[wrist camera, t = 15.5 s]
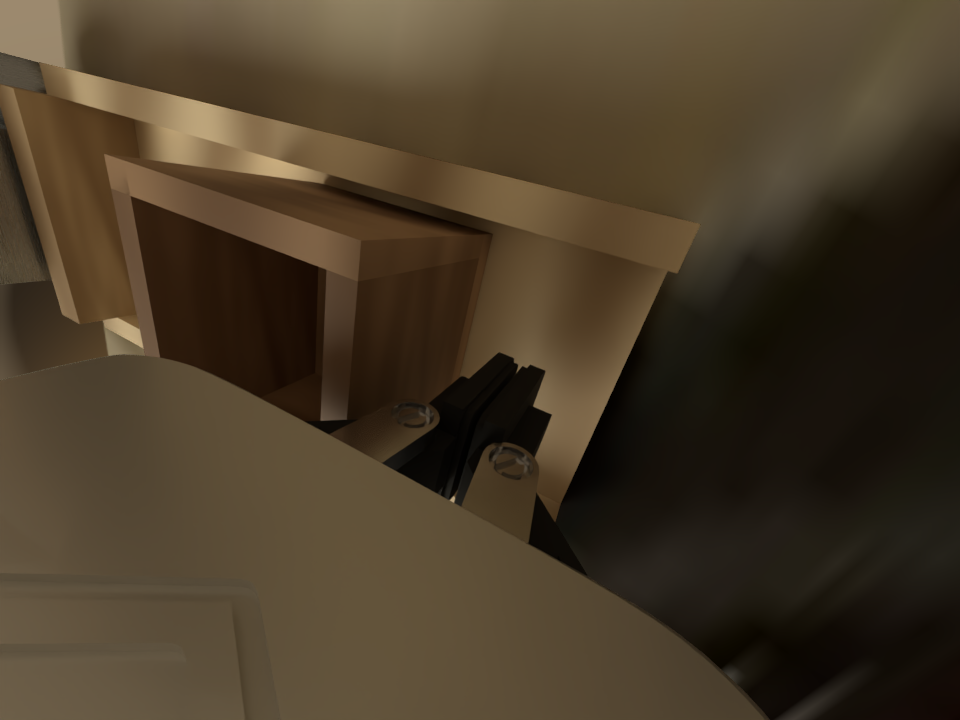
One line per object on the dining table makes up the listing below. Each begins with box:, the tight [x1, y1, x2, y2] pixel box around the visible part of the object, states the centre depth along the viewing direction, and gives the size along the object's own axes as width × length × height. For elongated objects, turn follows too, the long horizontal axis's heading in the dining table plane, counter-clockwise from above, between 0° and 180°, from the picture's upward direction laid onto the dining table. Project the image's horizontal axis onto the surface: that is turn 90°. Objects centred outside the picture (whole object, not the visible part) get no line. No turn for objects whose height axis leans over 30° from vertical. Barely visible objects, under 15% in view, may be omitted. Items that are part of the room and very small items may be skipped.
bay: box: [0, 62, 701, 522], centre depth 16 cm, size 28×13×5 cm, turn 76°
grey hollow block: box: [0, 52, 52, 284], centre depth 19 cm, size 7×10×8 cm
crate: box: [104, 154, 493, 421], centre depth 13 cm, size 8×9×7 cm
